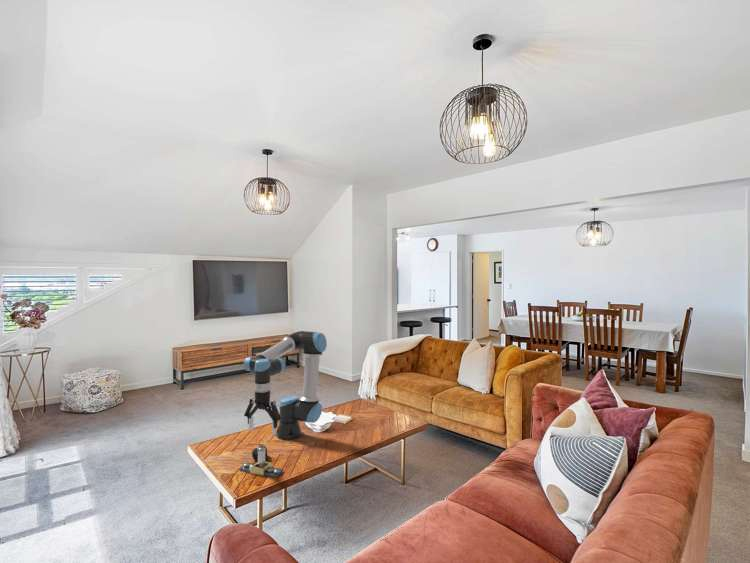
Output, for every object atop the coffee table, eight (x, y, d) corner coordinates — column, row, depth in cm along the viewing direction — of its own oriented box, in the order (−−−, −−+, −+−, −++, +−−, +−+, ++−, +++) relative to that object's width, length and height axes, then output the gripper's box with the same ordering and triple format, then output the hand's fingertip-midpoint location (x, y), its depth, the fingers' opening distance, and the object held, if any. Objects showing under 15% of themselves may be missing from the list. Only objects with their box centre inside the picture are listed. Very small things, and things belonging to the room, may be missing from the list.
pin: (260, 468, 199) (260, 445, 199) (267, 469, 197) (267, 446, 197) (255, 472, 195) (255, 448, 195) (262, 473, 193) (262, 449, 193)
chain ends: (248, 463, 203) (248, 458, 203) (284, 471, 196) (284, 465, 196) (238, 470, 196) (238, 464, 196) (275, 478, 189) (275, 472, 189)
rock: (274, 456, 212) (274, 446, 212) (264, 463, 204) (264, 452, 204) (259, 453, 216) (259, 443, 216) (248, 460, 207) (248, 449, 207)
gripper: (237, 389, 196) (237, 431, 197) (279, 395, 188) (279, 438, 189) (246, 385, 203) (246, 425, 204) (288, 391, 195) (287, 432, 196)
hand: (262, 432), depth 196 cm, fingers open, 13 cm apart
